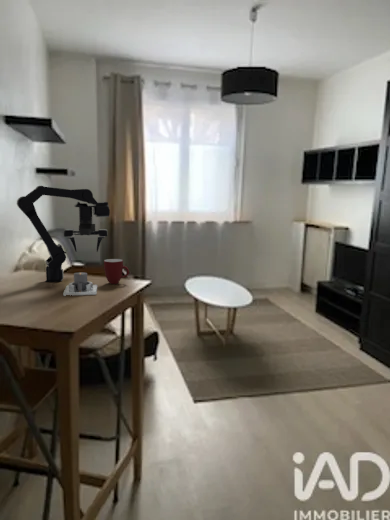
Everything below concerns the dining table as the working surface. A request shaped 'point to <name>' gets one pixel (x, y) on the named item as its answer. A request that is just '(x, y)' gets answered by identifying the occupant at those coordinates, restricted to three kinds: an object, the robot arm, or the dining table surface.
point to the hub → (71, 290)
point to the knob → (80, 280)
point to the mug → (114, 270)
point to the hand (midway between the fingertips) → (86, 251)
